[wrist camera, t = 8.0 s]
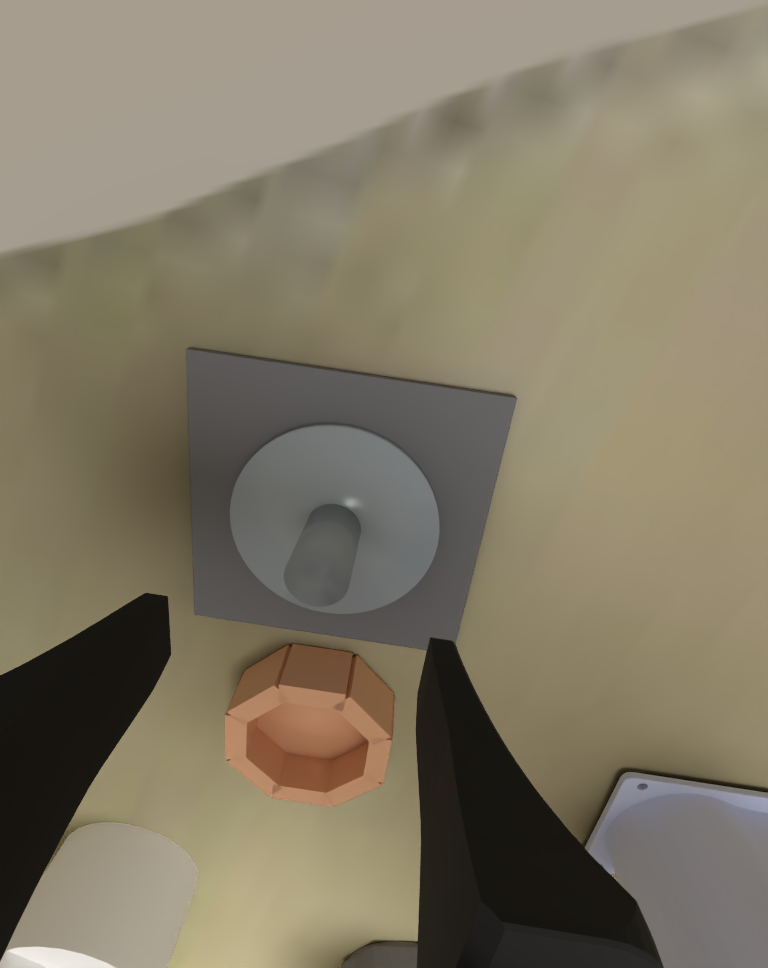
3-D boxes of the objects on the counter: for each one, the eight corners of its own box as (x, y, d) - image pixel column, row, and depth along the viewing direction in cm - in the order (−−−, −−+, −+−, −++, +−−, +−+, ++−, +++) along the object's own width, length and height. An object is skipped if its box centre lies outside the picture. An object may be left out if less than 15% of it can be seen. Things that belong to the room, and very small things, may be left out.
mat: (514, 395, 17) (516, 398, 17) (452, 647, 22) (452, 654, 22) (190, 347, 18) (186, 349, 17) (198, 609, 22) (194, 614, 22)
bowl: (401, 660, 23) (399, 703, 21) (380, 766, 26) (377, 814, 24) (244, 636, 23) (225, 676, 21) (242, 745, 26) (225, 790, 24)
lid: (457, 440, 18) (468, 484, 14) (420, 618, 21) (420, 691, 18) (236, 406, 18) (188, 441, 14) (234, 589, 21) (194, 656, 18)
